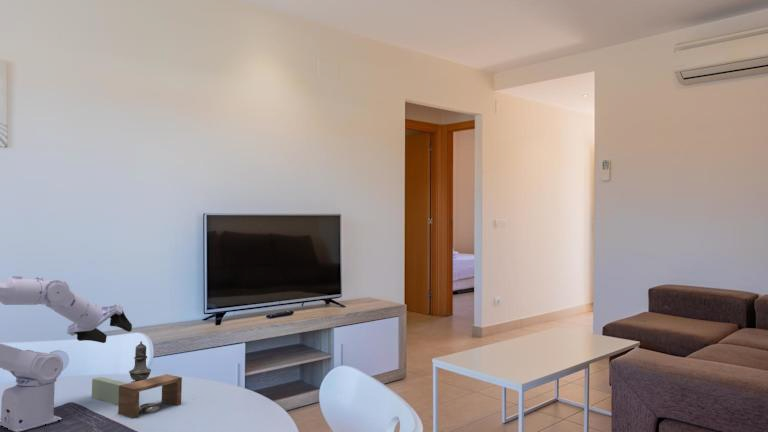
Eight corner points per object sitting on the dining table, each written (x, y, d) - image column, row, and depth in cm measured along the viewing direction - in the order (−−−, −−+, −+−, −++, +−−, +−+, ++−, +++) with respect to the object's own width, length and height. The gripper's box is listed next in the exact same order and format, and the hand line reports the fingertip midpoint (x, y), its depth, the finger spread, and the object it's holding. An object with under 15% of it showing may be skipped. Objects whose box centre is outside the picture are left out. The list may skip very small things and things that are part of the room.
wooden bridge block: (133, 418, 123) (134, 389, 123) (118, 413, 126) (119, 385, 126) (181, 404, 134) (181, 377, 134) (165, 400, 137) (166, 374, 138)
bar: (128, 408, 131) (129, 388, 131) (91, 398, 139) (92, 378, 139) (137, 406, 133) (138, 385, 133) (100, 396, 141) (101, 376, 141)
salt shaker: (135, 387, 149) (136, 343, 150) (124, 383, 152) (125, 341, 153) (155, 383, 154) (156, 340, 154) (144, 379, 157) (145, 338, 158)
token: (147, 415, 126) (147, 409, 126) (135, 412, 128) (135, 406, 128) (163, 410, 130) (163, 404, 130) (151, 407, 132) (152, 401, 132)
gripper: (106, 285, 132) (142, 310, 142) (55, 308, 133) (95, 331, 143) (103, 308, 127) (141, 332, 137) (51, 332, 128) (92, 354, 138)
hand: (117, 333), depth 140 cm, fingers open, 7 cm apart
